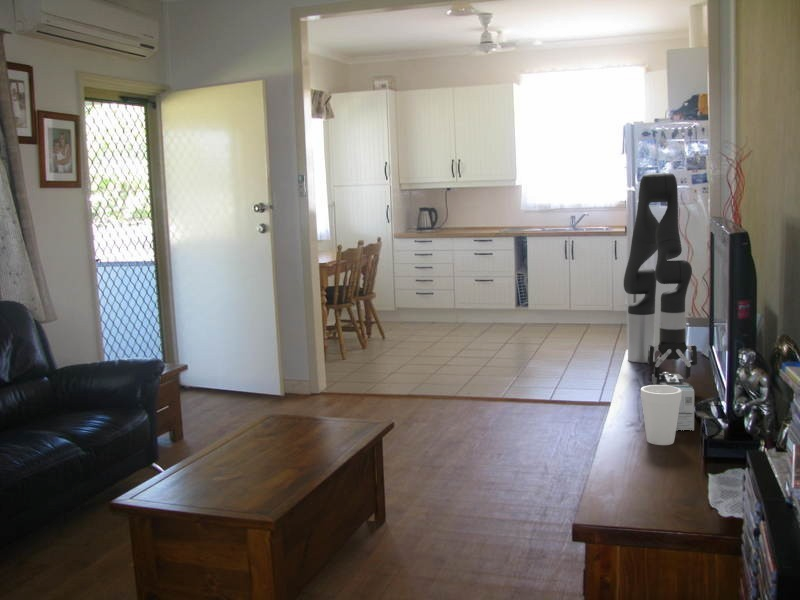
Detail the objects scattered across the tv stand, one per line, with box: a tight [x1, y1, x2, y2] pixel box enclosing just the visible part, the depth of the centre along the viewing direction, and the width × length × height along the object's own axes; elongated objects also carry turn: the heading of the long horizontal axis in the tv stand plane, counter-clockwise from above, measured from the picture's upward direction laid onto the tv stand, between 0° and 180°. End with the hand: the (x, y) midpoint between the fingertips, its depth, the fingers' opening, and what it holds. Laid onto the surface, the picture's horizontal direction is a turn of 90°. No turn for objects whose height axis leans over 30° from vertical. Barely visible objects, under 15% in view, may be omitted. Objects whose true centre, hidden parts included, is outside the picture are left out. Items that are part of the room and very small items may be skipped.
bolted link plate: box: [664, 373, 679, 385], centre depth 252 cm, size 10×3×4 cm, turn 167°
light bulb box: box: [647, 384, 695, 432], centre depth 212 cm, size 11×7×11 cm, turn 84°
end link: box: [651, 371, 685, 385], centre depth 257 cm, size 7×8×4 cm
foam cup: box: [640, 384, 682, 446], centre depth 201 cm, size 10×9×13 cm
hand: (671, 378), depth 251 cm, fingers open, 8 cm apart
